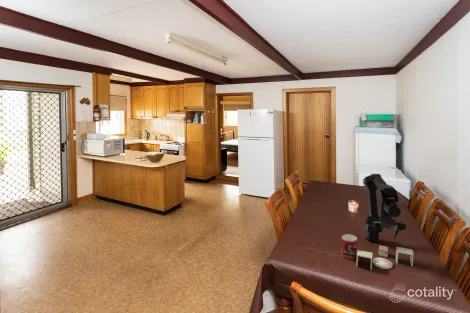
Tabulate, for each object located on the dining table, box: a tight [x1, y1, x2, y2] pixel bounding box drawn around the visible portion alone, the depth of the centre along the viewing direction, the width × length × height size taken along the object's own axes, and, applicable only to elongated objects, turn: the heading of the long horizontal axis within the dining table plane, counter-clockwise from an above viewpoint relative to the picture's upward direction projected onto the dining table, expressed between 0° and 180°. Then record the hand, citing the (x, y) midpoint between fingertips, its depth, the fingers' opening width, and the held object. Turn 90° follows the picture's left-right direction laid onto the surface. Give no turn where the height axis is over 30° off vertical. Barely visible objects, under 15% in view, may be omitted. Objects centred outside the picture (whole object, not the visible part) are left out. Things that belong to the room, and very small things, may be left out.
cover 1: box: [355, 249, 373, 271], centre depth 136 cm, size 6×7×6 cm
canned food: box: [340, 233, 358, 260], centre depth 145 cm, size 8×8×11 cm
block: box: [378, 245, 389, 258], centre depth 146 cm, size 4×4×4 cm
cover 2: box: [395, 246, 414, 267], centre depth 138 cm, size 6×7×6 cm
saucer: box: [372, 257, 394, 270], centre depth 137 cm, size 9×9×1 cm
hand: (384, 237), depth 145 cm, fingers open, 9 cm apart
